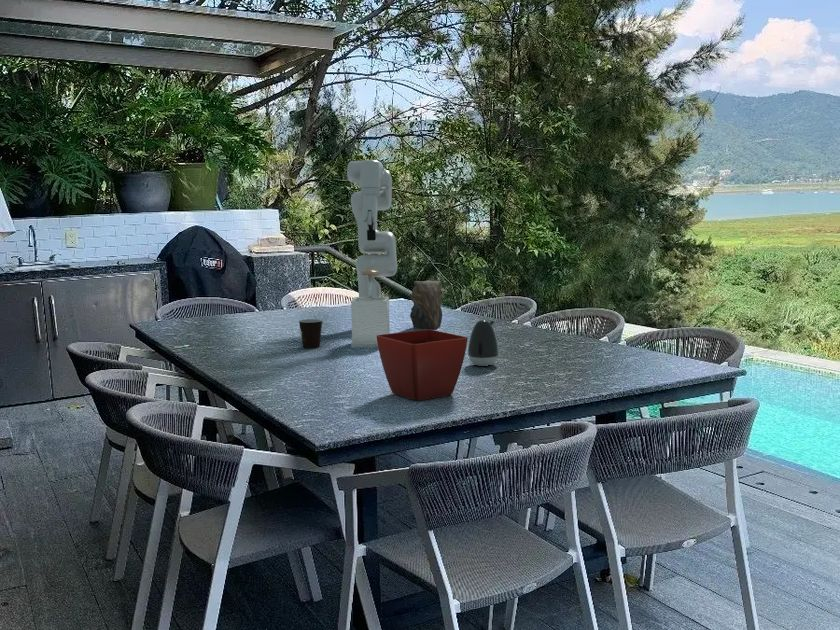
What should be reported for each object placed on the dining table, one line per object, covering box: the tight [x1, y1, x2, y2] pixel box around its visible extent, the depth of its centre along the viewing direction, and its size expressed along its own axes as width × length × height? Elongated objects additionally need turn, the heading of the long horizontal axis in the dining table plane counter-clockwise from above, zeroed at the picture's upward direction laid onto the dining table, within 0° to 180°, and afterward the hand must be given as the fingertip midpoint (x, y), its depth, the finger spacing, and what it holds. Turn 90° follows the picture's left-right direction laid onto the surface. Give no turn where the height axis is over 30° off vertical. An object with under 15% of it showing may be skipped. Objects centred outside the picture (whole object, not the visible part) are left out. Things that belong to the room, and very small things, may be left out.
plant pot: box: [377, 329, 469, 402], centre depth 242 cm, size 19×19×17 cm
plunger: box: [360, 270, 379, 301], centre depth 326 cm, size 10×10×17 cm
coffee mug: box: [298, 318, 323, 350], centre depth 326 cm, size 12×9×10 cm
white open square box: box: [350, 296, 391, 349], centre depth 327 cm, size 14×14×18 cm
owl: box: [409, 279, 443, 331], centre depth 370 cm, size 13×13×20 cm
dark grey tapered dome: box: [467, 319, 500, 367], centre depth 284 cm, size 10×10×15 cm
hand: (371, 240), depth 334 cm, fingers closed
